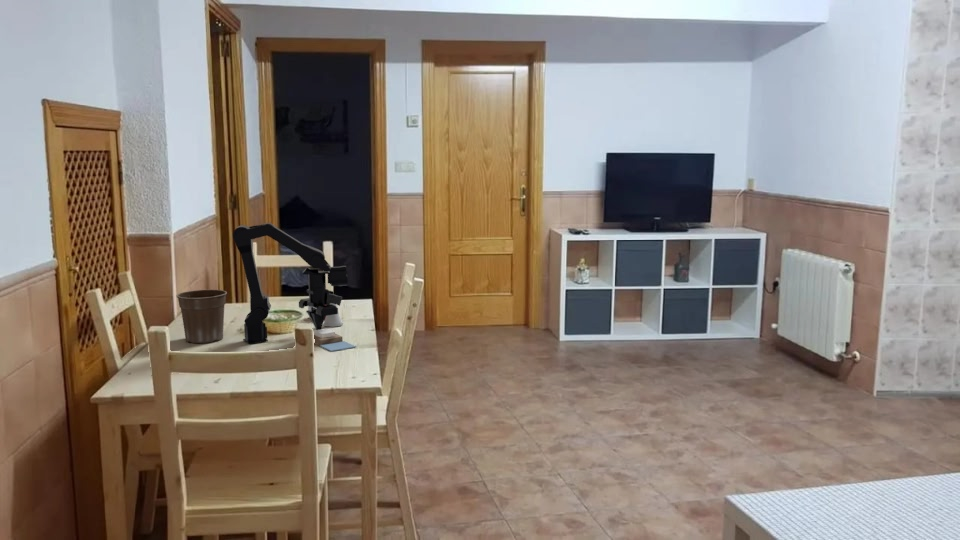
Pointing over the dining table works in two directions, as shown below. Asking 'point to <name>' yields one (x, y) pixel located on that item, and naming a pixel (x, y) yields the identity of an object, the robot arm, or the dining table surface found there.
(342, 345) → the mat
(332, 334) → the white flat block
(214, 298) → the plant pot
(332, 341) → the deck
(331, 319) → the flask
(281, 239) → the robot arm
